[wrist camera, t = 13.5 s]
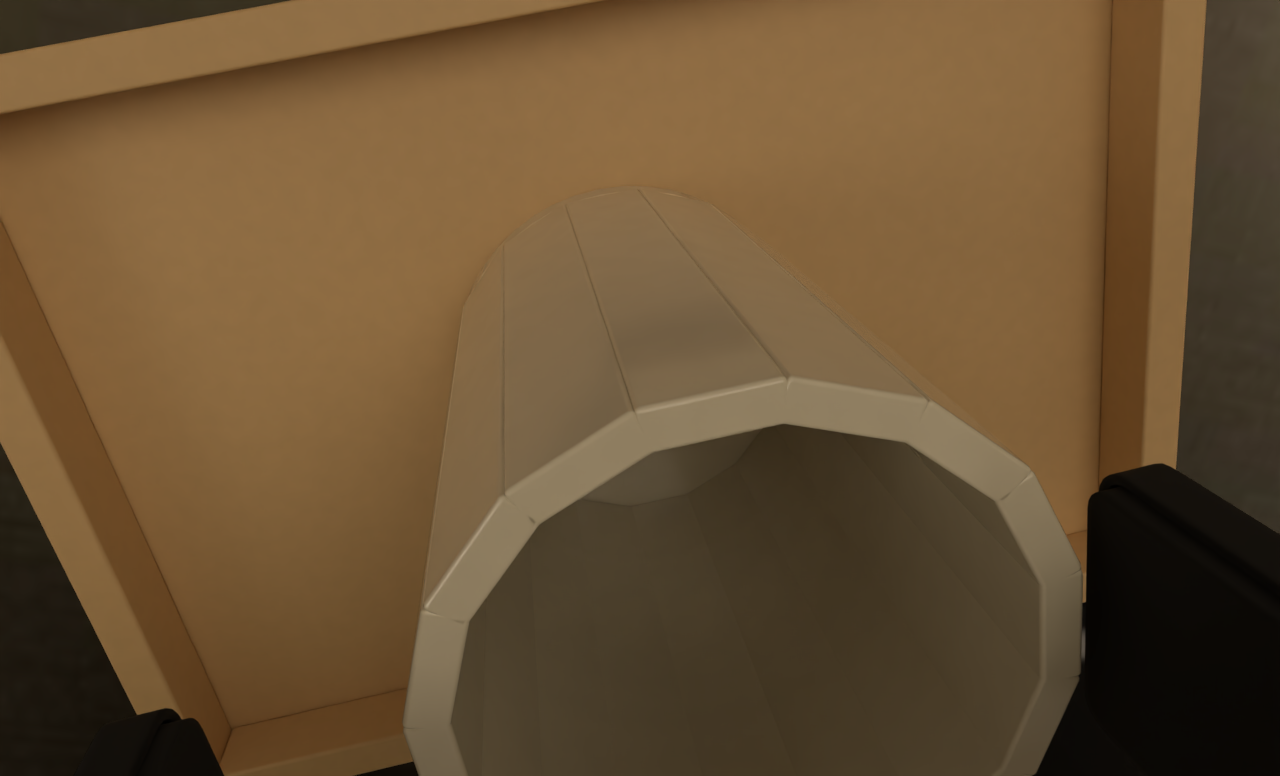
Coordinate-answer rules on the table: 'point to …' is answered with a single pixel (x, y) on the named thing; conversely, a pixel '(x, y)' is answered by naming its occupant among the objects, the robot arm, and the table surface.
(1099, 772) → the spotted tube
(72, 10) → the table surface
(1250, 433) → the table surface
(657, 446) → the cup
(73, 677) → the table surface
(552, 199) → the tray
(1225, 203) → the table surface
